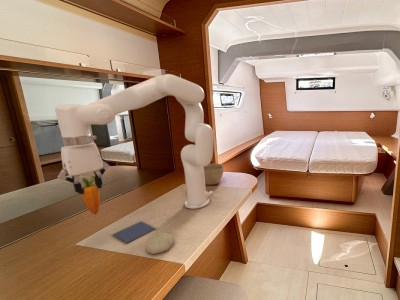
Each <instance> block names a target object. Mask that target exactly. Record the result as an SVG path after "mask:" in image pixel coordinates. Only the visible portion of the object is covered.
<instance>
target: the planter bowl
mask: <svg viewBox="0 0 400 300" xmlns="http://www.w3.org/2000/svg"><path fill="white" fill-rule="evenodd" d="M203 168H204V176H205V185H206V186H207V185H208V186H213V185H217V184H220V181H221V179H222V178H223V174H224V168H225V166H224V164H223V163H209V164H208V165H207V166H203Z"/></svg>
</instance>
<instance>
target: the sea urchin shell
mask: <svg viewBox="0 0 400 300" xmlns="http://www.w3.org/2000/svg"><path fill="white" fill-rule="evenodd" d="M173 243H174V237H173V234H171V233H170V232H169V233H168V232H157V233H154V234H153V235H151V236H150V237H149V238H147V239H146V241H145V244H144V245H145V250H146V251H147V252H148V253H149V254H152V255H153V254H154V255H156V254H161V253H163V252H166V251H168V250H169V249H170V248H171V247H172V246H173Z"/></svg>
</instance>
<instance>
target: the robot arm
mask: <svg viewBox="0 0 400 300" xmlns="http://www.w3.org/2000/svg"><path fill="white" fill-rule="evenodd" d="M168 96H172V97H175V100H176V101H177V102H178V103H179V104H180V105H181V106H182V107H183V109H184V112H185V124H184V137H185V139H186V140H187V141H189V142H191V143H194V144H186V145H184V146H183V148H182V149H181V151H180V159H181V162H182V166H183V171H184V182H185V190H186V201H185V202H184V207H185V208H186V209H190V210H191V209H193V210H195V209H201V208H204V207H206V206H207V205H209V204H210V203H211V201H210V198H209V196H212V195H214V191H213V190H211V191H208V190H206V189H207V188H206V184H205V176H204V168H203V166H207V165H208V164H211V162H212V160H213V155H214V143H215V132H214V130H213V128H212V127H211V125H209V124H207V123H205V122H204V121H205V120H204V119H205V118H204V117H205V114H204V109H203V106H202V104H201V103H202V102H203V101H204V100H205V92H204V89H203V88H202V87H201V86H200V85H199V84H197V83H195V82H192V81H190V80H187V79H185V78H183V77H180V76H177V75H175V74H171V73H165V74H160V75H157V76H154V77H151V78H149V79H146V80H144V81H141V82H140V83H137V84H135V85H132V86H130V87H127V88H124V89H122V90H120V91H118V92H115V93H113V94H110V95H108V96H106V97H102V98H100V99H97V100H95V101H93V102H90V103H88V104H59V105H56V107H55V108H54V112H55V115H56V120H57V122H58V128H59V131H60V135H61V140H62V143H63V146H61V147H60V156H61V157H60V158H61V164H62V168H61V170H60V172H59V173H58V175H57V179H59V180H62V181H66V182H69V183H72V185H73V188H74V192H75V193H77V194H79V195H82V194H83V190H82V188H83V186H82V183H81V182H80V175H84V174H88V173H93V174H94V178H93V179H95V180H94V185H97V186H98V189H102V185H103V179H102V177H103V175H104V174H105V172H106V170H108V169H109V168H110V164H108V163H107V162H106V161H104V160H103V159H102V156H101V153H100V150H99V148H98V145H97V144H96V143H95V142H94V141H95V140H97V136H96V135H93V134H92V133H91V128H90V125H99V126H100V125H101V126H102V125H103V126H105V125H108V124H110V123H112V122H113V121H115V119H116V116H117V115H120V114H122V113H124V112H128V111H133V110H138V109H141V108H144V107H146V106H148V105H150V104H152V103H155V102H156V101H158V100H161V99H163V98H164V97H168ZM66 175H68V176H66ZM69 176H71V177H69Z"/></svg>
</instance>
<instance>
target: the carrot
mask: <svg viewBox="0 0 400 300" xmlns="http://www.w3.org/2000/svg"><path fill="white" fill-rule="evenodd" d="M94 177H95V175H91V176H90V180H88V179H87V178H86V177H84V176H83V177H81V180H82V182H83V185H84V186H82V190H83V194H81V197H82V199H83V200H82V201H83V202H84V204H85V206H86V208H87V209H88V211H89V212H91V213H92V214H93V215H97V214H98V212H99V210H100V206H101V196H100V188H98V186H97V185H96V184H93V182H95V179H94Z"/></svg>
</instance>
